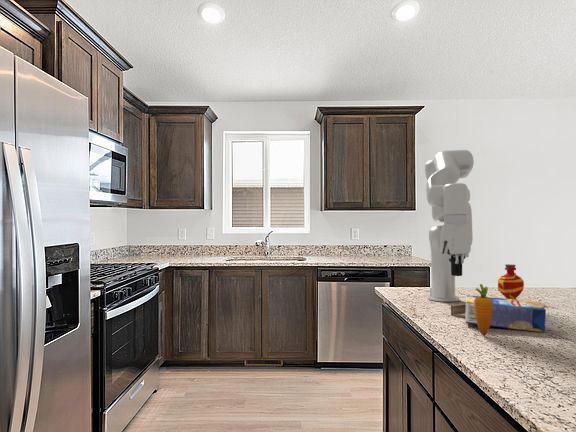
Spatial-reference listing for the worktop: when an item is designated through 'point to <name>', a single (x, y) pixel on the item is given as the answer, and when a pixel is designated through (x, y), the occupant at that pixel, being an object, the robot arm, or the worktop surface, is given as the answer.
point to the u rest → (459, 310)
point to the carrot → (483, 310)
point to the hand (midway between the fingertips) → (456, 275)
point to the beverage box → (511, 314)
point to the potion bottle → (510, 283)
